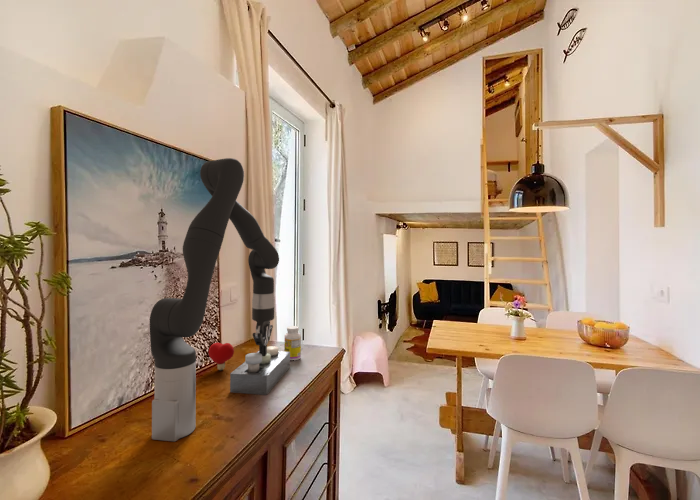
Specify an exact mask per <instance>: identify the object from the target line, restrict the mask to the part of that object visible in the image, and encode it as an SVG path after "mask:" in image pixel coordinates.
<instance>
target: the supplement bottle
mask: <svg viewBox="0 0 700 500" xmlns="http://www.w3.org/2000/svg"><path fill="white" fill-rule="evenodd" d="M299 330H300V328H299V326H297V325H290V326H287V327H286V331H287V333H285V334H284V351H285V352H290V360H294V361H298V360H300V359H301V357H302V356H301V355H302V353H301V352H302V336H301V333H300V332H299Z"/></svg>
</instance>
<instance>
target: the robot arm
mask: <svg viewBox="0 0 700 500" xmlns="http://www.w3.org/2000/svg"><path fill="white" fill-rule="evenodd" d="M244 170H245V169H244V168H243V164H242V163H241V162H240V161H239V160H238V159H236V158H230V157H226V158H220V159H215V160H210V161H206V162H204V163H203V164H202V165H201V167H200V171H199V175H200V179H201V180H200V181H201V182H202V184H203V185H204V188H206V190H207V191H208V192H209V194H210V195H211V198H210V199H209V200H208V201H207V203H206V204H205V205H204V206H203V208H202V209H201V210H200V211H199V212H198V213H197V214H196V215H195V217H194V218H193V219H192V220H191V223H190V224H189V225H188V229H187V232H186V234H185V238H184V240H183V244H182V255H183V260H184V263H185V267H186V271H187V281H186V282H187V283H186V287H185V291H184V293H183V295H182V296H183V297H182V298H175V297H163V298H161V299H160V300H158V301H156V303H155V304H154V306H153V307H152V309H151V311H150V316H149V340H150V341H149V342H150V343H149V344H150V352H151V356H152V357H153V359H154V399H152V400H151V440H155V441H156V440H158V441H165V442H167V441H168V442H176V441H178V440H179V439H182V438H185V437H187V436H188V435H190V434H191V433H193V432H194V430H195V429H196V422H197V421H196V419H197V417H196V415H197V414H196V413H197V412H196V411H197V410H196V401H197V398H196V397H197V396H196V395H197V394H196V392H197V390H196V387H197V383H196V382H197V377H196V376H197V375H196V374H197V372H196V371H197V368H196V367H197V352H196V349H195V348H194V347H193V346H191V345H190V344H188V343H187V342H186V341H185V340H184V338H191V337H193V336H194V335H196V334H197V333H198V331H199V330H200V328H201V326H202V324H203V321H204V319H205V318H204V317H205V313H206V309H207V304H208V299H209V293H210V288H211V283H212V279H213V275H214V272H215V267H216V265H217V261H218V257H219V254H220V251H221V248H222V244H223V241H224V238H225V235H226V230H227V226H228V223H229V220H230V221H231V223H232V225H233V226H234V228H235V230H236V232H237V233H238V235H239V237H240V238H241V241H242V243H243V244H244V246H245V248H247V249H250V250H251V251H250V252H249V254H248V259H247V261H248V267H249V270H250V271H249V272H250V275H251V278H252V301H251V319H252V321H253V322H255V323H256V325H255V332H253V333H252V339H253V340H254V342H255V344H256V346H258V349H259V350H258V351H259V353H261V354H262V356H265V355H267V347H268V343H269V342H270V341H271V336H272V331H273V328H274V326H273V324H271V322H272V321H273V320H274V319H275V307H276V306H275V279H274V277H273V276H271V275H269V274H267V272H266V270H273V269H275V268H277V267H278V265H279V262H280V256H279V253H278V251H277V249H276V248H275V246H274V245H273V244H272V243H271V242H270V240H269V238H267V237H266V235H264V232H263V230H262V228H261V226H260V224H259V223H258V221H257V219H256V218H255V217H254V215H253V214H252V213H251V212H249V210H247V209H246V208H245V207H244V206H243V205H242V204H240V202H238V200H237V199H238V198H239V195H240V191H241V189H242V188H243V185H244V184H243V183H244V180H245V179H244V178H245V171H244Z"/></svg>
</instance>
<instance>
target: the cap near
mask: <svg viewBox="0 0 700 500" xmlns="http://www.w3.org/2000/svg"><path fill="white" fill-rule="evenodd" d="M244 362H245V363H247V364H248V372H250V373H255V372H258V371H259V363H261V362H262V354H261V353H257V352H251V353H247V354H245V361H244Z"/></svg>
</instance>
